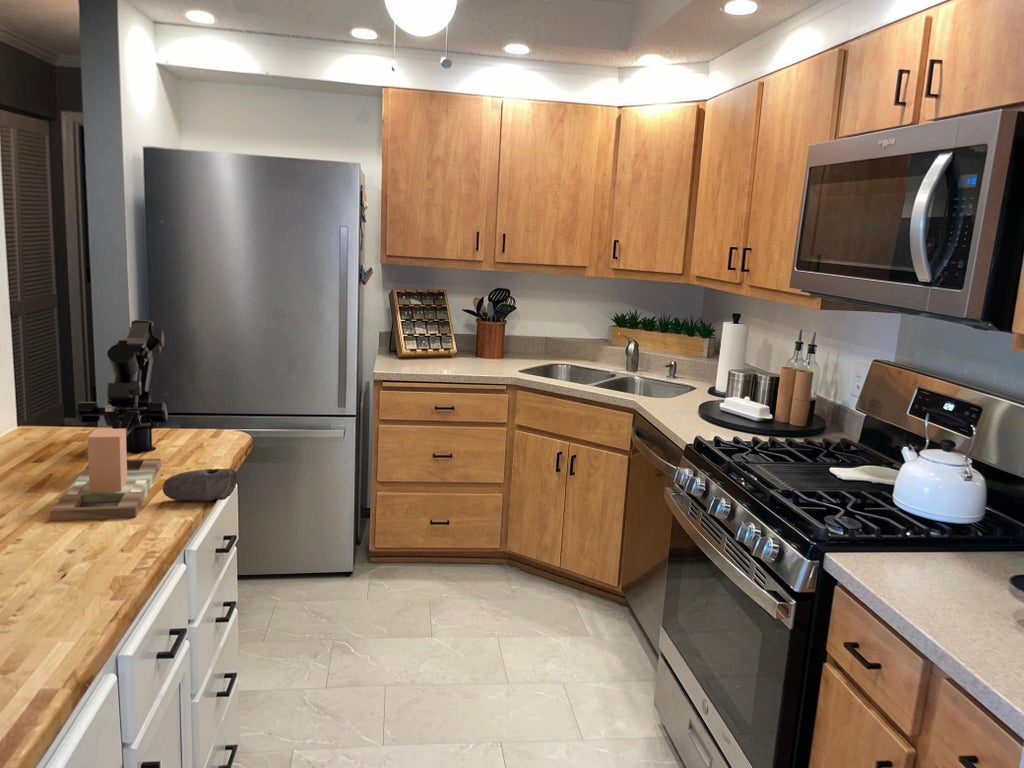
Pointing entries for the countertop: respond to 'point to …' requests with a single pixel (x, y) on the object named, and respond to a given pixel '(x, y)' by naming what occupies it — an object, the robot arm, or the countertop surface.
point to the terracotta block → (107, 460)
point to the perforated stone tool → (201, 485)
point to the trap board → (108, 495)
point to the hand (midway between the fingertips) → (118, 443)
